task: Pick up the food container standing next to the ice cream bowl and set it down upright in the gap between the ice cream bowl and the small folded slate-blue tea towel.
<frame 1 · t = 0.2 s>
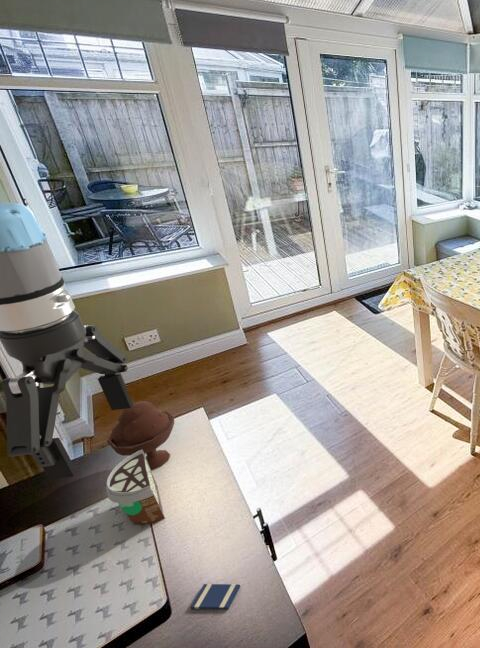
hand: (96, 438, 63), 28 cm above the table, tool pointing down, fingers open, 13 cm apart
food container: (142, 512, 81), on the table
ice cream bowl: (155, 461, 92), on the table
tea towel: (216, 597, 68), on the table
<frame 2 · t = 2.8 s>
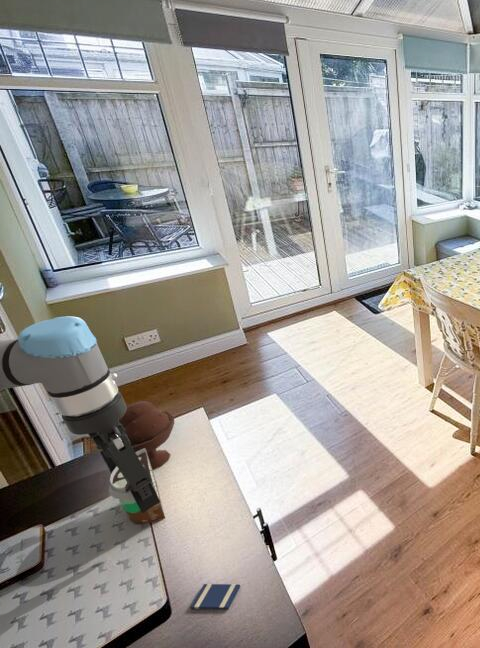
hand: (135, 488, 79), 7 cm above the table, tool pointing down, fingers open, 13 cm apart
nothing on the table moved.
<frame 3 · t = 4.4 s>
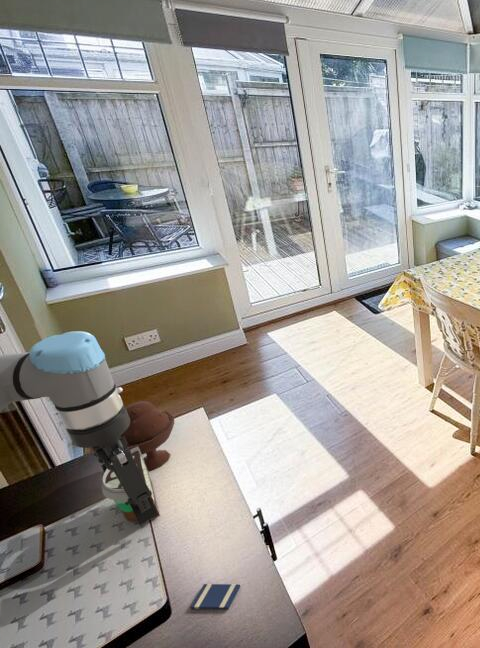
hand: (134, 501, 80), 3 cm above the table, tool pointing down, fingers closed on food container, 12 cm apart
food container: (137, 509, 81), on the table, touching gripper
everything else where it was.
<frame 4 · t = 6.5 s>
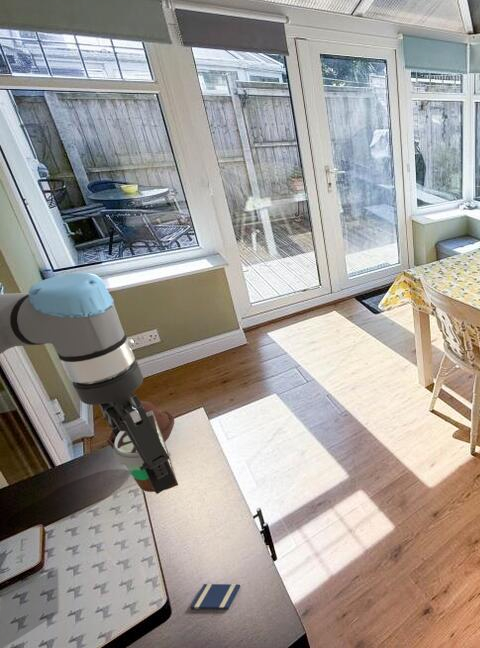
hand: (149, 469, 72), 16 cm above the table, tool pointing down, fingers closed on food container, 12 cm apart
food container: (152, 479, 74), point 13 cm above the table, touching gripper
everything else where it was.
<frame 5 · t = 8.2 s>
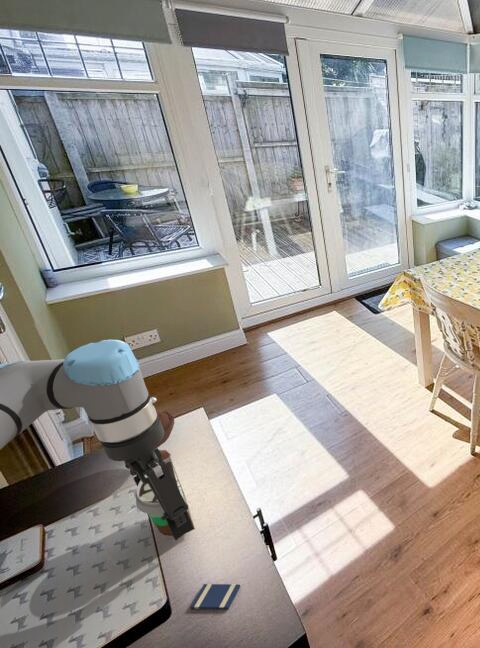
hand: (168, 514, 77), 4 cm above the table, tool pointing down, fingers closed on food container, 12 cm apart
food container: (170, 522, 79), point 1 cm above the table, touching gripper
everything else where it was.
when the fingers open (3 cm above the table, at t = 9.3 s): food container stays where it is, on the table.
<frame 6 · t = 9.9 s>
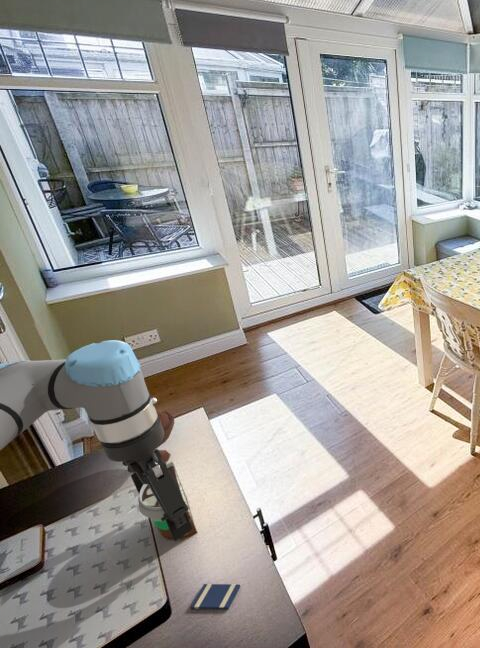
hand: (166, 513, 77), 4 cm above the table, tool pointing down, fingers open, 13 cm apart
food container: (173, 526, 79), on the table
everything else where it was.
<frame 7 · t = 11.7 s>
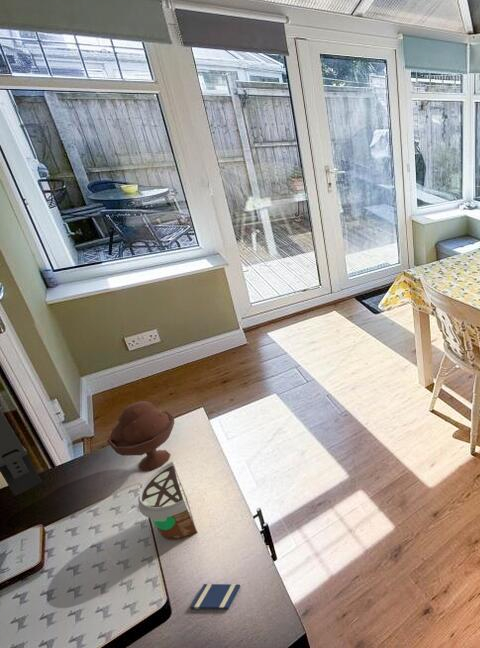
hand: (13, 465, 62), 25 cm above the table, tool pointing down, fingers open, 13 cm apart
nothing on the table moved.
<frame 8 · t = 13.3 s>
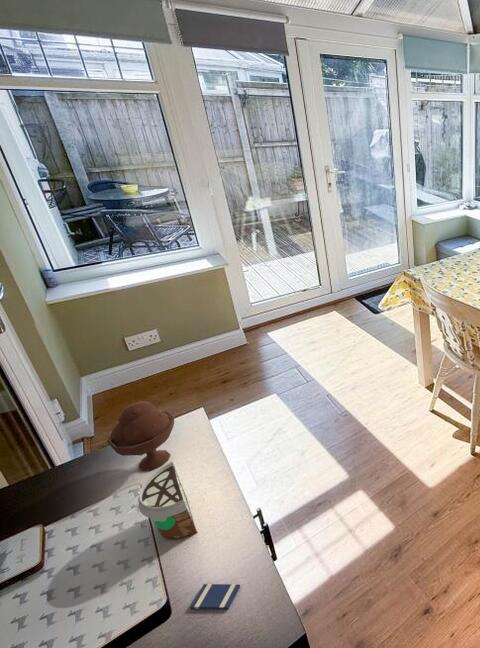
nothing on the table moved.
at the end: food container inside the target area on the table beside the ice cream bowl (1.2 cm from its centre), on the table; food container 19.8 cm from the tea towel (horizontally); food container tilted 0° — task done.
